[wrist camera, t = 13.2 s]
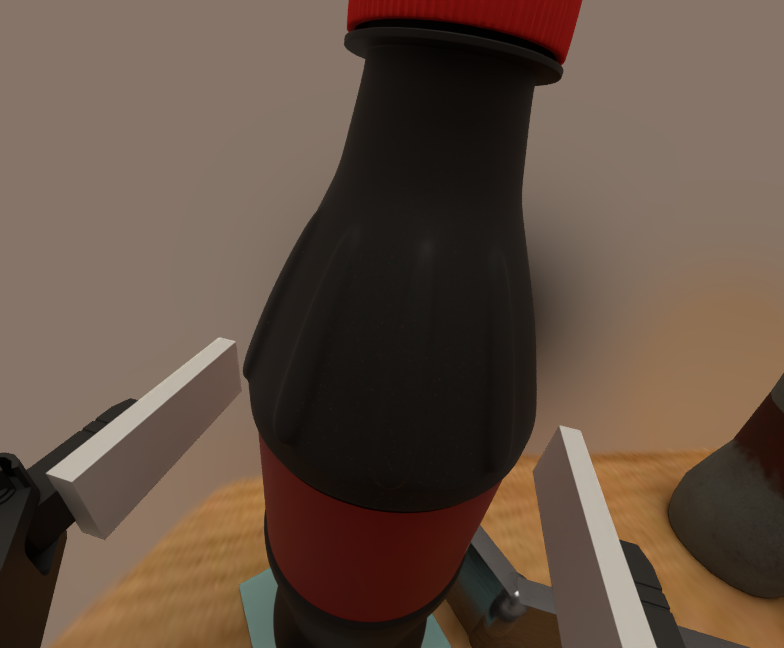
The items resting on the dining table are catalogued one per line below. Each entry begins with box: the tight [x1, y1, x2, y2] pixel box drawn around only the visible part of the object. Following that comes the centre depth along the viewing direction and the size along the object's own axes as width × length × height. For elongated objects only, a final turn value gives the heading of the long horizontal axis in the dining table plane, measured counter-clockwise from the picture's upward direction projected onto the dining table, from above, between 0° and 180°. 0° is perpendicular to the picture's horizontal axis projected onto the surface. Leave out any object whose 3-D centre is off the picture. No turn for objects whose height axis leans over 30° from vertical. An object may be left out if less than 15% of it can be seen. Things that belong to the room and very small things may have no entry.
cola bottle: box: [243, 0, 582, 648], centre depth 13 cm, size 8×8×30 cm
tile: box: [239, 567, 452, 648], centre depth 21 cm, size 10×10×1 cm
